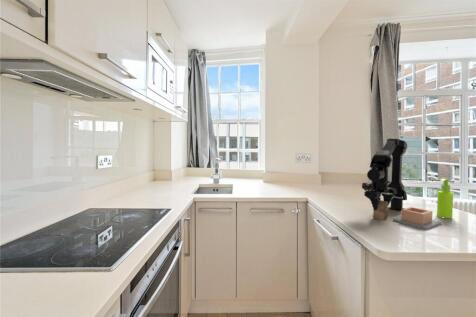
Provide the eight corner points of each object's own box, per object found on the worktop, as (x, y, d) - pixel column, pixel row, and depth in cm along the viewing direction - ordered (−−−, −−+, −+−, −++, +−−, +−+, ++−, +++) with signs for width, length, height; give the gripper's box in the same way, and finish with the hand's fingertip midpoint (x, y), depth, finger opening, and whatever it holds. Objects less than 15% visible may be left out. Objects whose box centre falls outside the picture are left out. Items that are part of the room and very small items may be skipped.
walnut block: (378, 216, 119) (378, 199, 118) (387, 219, 115) (387, 201, 114) (373, 218, 117) (373, 201, 116) (382, 220, 113) (382, 202, 112)
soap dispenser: (433, 216, 118) (434, 178, 117) (440, 214, 121) (442, 177, 119) (447, 219, 113) (448, 180, 111) (454, 217, 115) (456, 179, 114)
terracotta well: (407, 216, 119) (408, 204, 119) (441, 224, 107) (441, 211, 106) (392, 220, 112) (393, 208, 112) (426, 229, 100) (427, 216, 100)
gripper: (376, 175, 126) (375, 202, 127) (354, 178, 117) (354, 207, 118) (397, 177, 116) (397, 207, 117) (376, 181, 108) (375, 213, 109)
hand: (380, 208), depth 116 cm, fingers open, 9 cm apart
